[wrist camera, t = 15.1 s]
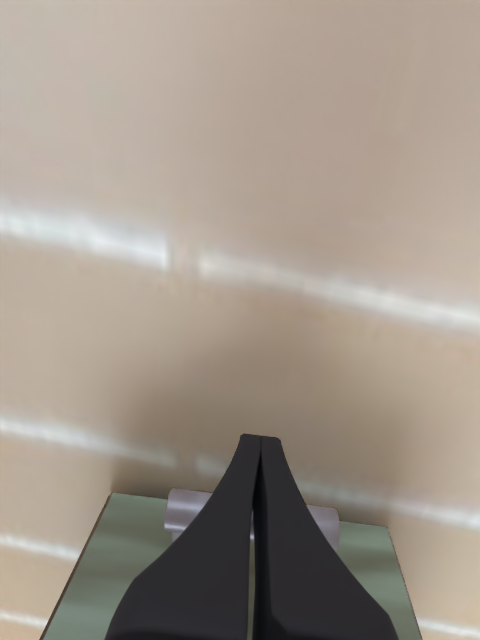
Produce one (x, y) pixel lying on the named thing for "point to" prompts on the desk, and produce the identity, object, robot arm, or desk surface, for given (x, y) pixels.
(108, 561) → the drawer
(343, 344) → the desk surface
